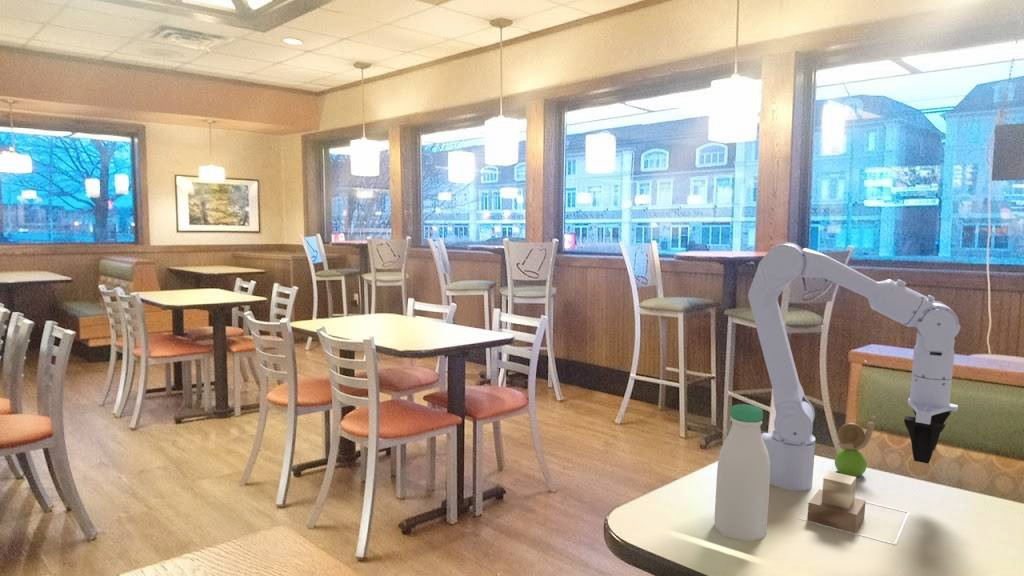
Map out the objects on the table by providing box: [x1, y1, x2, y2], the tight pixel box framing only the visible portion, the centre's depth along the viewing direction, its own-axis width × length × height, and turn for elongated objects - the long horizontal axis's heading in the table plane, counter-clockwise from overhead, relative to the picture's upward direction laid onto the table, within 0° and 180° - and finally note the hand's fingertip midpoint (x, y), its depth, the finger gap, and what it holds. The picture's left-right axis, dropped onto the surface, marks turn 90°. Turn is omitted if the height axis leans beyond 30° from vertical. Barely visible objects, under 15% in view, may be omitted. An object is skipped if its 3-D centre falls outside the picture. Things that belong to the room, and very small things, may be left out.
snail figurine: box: [834, 415, 877, 478], centre depth 130 cm, size 5×6×12 cm
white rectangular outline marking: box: [796, 501, 911, 546], centre depth 113 cm, size 15×15×1 cm
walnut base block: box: [806, 489, 867, 534], centre depth 111 cm, size 7×7×3 cm
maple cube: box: [822, 470, 857, 509], centre depth 110 cm, size 4×4×4 cm
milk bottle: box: [714, 403, 771, 542], centre depth 106 cm, size 8×8×20 cm
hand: (924, 455), depth 116 cm, fingers open, 7 cm apart
